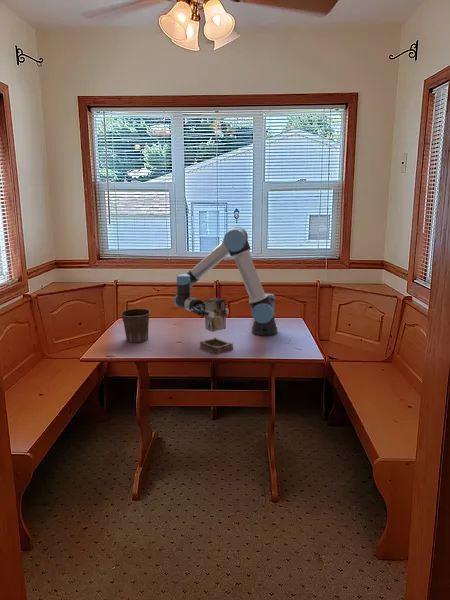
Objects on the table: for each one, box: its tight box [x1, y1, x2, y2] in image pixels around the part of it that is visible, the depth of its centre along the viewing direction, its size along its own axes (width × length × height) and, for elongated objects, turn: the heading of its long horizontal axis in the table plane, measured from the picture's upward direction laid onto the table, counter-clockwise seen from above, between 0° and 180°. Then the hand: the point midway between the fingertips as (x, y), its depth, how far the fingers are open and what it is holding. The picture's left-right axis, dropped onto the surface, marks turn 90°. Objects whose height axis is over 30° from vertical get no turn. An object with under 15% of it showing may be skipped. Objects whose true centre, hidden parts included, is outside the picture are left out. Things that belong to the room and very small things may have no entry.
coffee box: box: [204, 297, 227, 332], centre depth 230 cm, size 9×6×16 cm
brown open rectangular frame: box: [199, 336, 234, 355], centre depth 234 cm, size 11×15×3 cm
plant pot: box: [120, 308, 151, 344], centre depth 248 cm, size 16×16×16 cm
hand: (220, 313), depth 226 cm, fingers closed on coffee box, 9 cm apart
